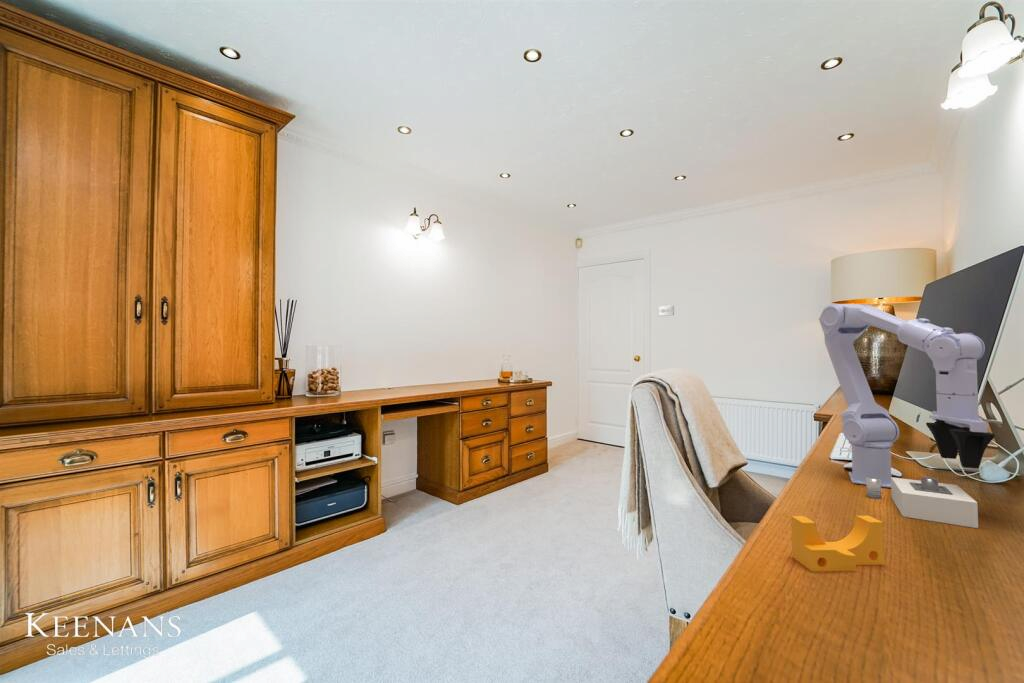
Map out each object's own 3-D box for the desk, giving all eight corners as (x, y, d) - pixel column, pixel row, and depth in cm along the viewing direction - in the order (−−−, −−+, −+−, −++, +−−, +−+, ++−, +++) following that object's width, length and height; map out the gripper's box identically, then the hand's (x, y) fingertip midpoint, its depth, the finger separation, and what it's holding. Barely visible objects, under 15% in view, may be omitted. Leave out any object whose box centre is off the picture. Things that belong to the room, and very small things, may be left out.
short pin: (866, 494, 94) (865, 476, 94) (880, 496, 92) (879, 478, 92) (867, 497, 92) (867, 479, 92) (882, 499, 90) (881, 480, 90)
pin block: (891, 498, 91) (890, 476, 91) (957, 507, 86) (956, 483, 86) (902, 516, 81) (902, 491, 81) (978, 528, 76) (977, 501, 76)
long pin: (920, 508, 85) (919, 476, 85) (936, 510, 84) (935, 477, 84) (924, 512, 83) (923, 479, 83) (941, 515, 82) (940, 481, 82)
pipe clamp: (811, 572, 62) (810, 527, 62) (792, 558, 66) (791, 516, 66) (894, 571, 62) (893, 527, 62) (869, 557, 66) (868, 515, 66)
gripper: (913, 390, 93) (915, 452, 92) (949, 397, 79) (952, 470, 79) (956, 391, 90) (958, 455, 90) (1001, 398, 77) (1004, 474, 76)
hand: (958, 462), depth 84 cm, fingers open, 7 cm apart
